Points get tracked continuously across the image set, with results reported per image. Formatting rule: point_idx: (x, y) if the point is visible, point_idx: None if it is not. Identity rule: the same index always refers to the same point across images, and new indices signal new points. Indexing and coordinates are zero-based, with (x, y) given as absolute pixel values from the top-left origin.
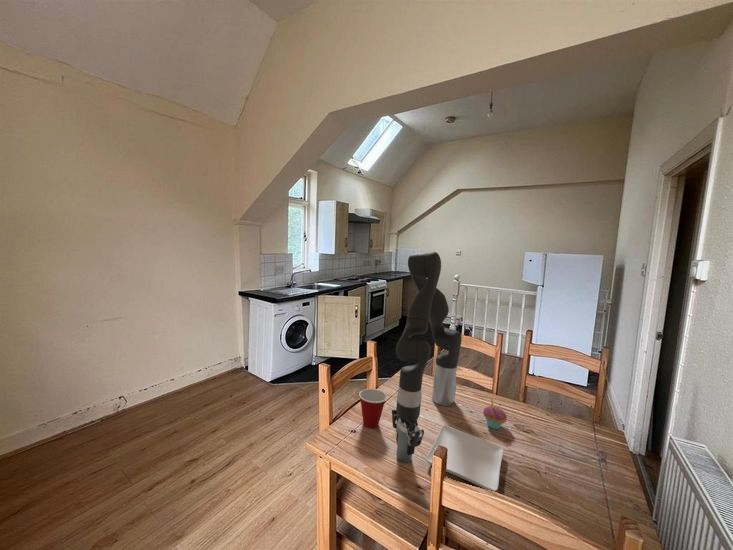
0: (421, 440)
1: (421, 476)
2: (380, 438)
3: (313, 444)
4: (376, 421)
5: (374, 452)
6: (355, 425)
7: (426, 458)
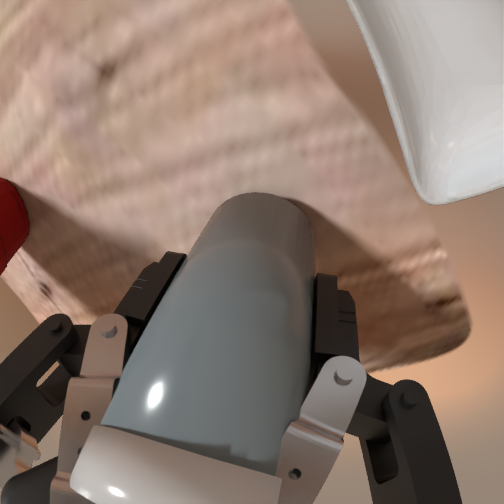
0: (445, 450)
1: (425, 253)
2: (83, 234)
3: None
4: (3, 231)
5: None
6: (21, 265)
7: (423, 193)
